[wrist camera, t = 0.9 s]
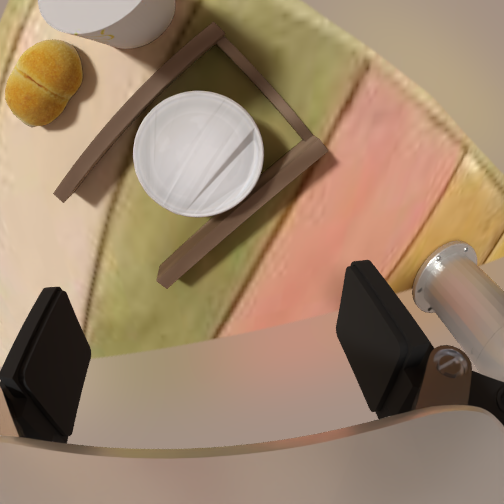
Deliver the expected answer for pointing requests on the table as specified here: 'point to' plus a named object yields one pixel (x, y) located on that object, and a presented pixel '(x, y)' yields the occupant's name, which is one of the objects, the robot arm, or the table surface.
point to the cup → (110, 19)
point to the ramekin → (198, 153)
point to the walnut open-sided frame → (266, 184)
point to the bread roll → (43, 82)
